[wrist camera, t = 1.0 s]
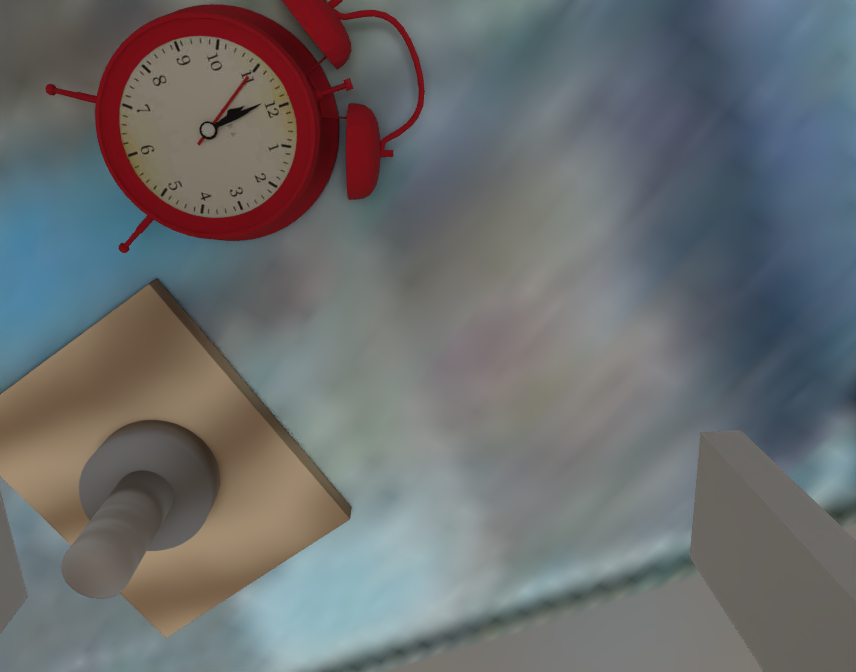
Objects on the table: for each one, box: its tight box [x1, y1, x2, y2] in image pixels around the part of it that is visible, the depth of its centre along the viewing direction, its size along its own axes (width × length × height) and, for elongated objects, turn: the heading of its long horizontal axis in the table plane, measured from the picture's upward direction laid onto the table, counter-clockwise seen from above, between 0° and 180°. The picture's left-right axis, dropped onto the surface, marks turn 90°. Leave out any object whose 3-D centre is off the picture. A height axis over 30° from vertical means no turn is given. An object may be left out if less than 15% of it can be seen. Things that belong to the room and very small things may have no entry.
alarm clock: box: [46, 0, 425, 253], centre depth 31 cm, size 10×6×15 cm
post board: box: [0, 279, 351, 638], centre depth 34 cm, size 16×13×9 cm
